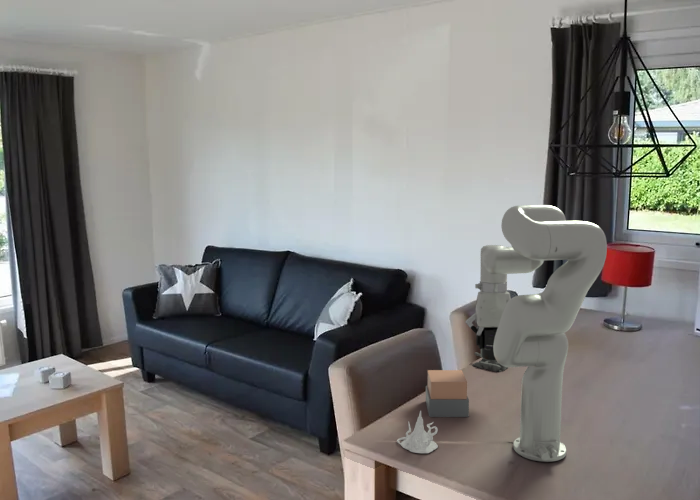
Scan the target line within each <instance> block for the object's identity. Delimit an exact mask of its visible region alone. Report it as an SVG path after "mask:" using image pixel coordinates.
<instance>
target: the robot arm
mask: <svg viewBox="0 0 700 500" xmlns="http://www.w3.org/2000/svg"><path fill="white" fill-rule="evenodd" d="M501 231H502V235H503V237H504V239H505V240H506V241H507V242H508V243H509V244H510V245H511V246H504V245H500V244H489V245H488V244H487V245H484V246H482V247H481V248H480V278H479V279H480V281H479V283H476V284H475V286H474V287H475V289H478V290H479V291H478V292H477V296H476V303H475V312H474V313H473V314H472V315H471V316H470V317H468V318H467V319H466V320H465V324H466V325H467V326H468V327H469V328H470V329H471V330H472V332H474V333H475V335H476V338H475V339H476V340H475V341H476V342H475V343H476V346H478V348H479V350H481V349H482V348H483V336H482V335H481V333H482V331H483V329H484V327H485V328H495V327H498V329H497V332H496V335H495V339H494V345H493V351H494V356H495V358H496V360H497V362H498V363H499V364H501V365H502V366H505V367H508V368H524V367H526V370H525V371H524V373H523V375H522V379H521V382H520V383H521V386H520V391H521V392H520V415H519V416H520V421H519V422H520V424H519V425H520V428H519V437H517V438H516V439H514V440H513V443H512V444H513V445H512V446H513V450H514V451H515V453H516V454H518V455H519V456H522V457H523V458H525V459H528V460H531V461H535V462H536V461H537V462H546V463H549V462H557V461H560V460H562V459H564V458H566V456H567V447H566V446H565V444H564V443H563V442H561V431H562V430H561V425H562V402H563V401H562V399H563V398H562V397H563V395H562V394H563V381H564V380H563V378H564V370H565V365H566V360H567V355H568V351H569V340H568V337H567V334H566V333H567V332H568V331H569V330H570V329H571V328H572V326H573V324H574V323H575V320H576V318H577V316H578V314H579V311H580V309H581V307H582V305H583V303H584V301H585V298H586V296H587V295H588V291H589V290H590V288H591V287H592V286H593V284H594V283H595V281H596V280H597V279H598V277H599V276H600V274H601V272H602V270H603V268H604V266H605V263H606V262H605V261H606V259H607V253H608V252H607V250H608V244H607V237H606V234H605V232H604V230H603V229H602V228H601V227H600V226H599V225H597V224H595V223H594V222H590V221H585V220H584V221H583V220H567V219H566V216H565V214H564V212H563V211H562V210H561V209H560V208H558V207H556V206H553V205H550V204H530V205H529V204H528V205H527V204H526V205H524V204H523V205H522V204H521V205H513V206H511V207H509V208H508V209H507V210H506V211H505V212H504V214H503V216H502V219H501ZM561 260H562V261H564V260H567V261H565V262H564V263H563V264H562V265H560V266H559V267H558V268H556V270H555V271H554V272H553V273H552V274H551V275H550V276H549V278H548V280H547V284H546V286H545V288H544V289H543V291H542V292H539V293H533V294H531V293H530V294H520V295H516V296H514V297H512V298H511V293H510V292H509V291H508V275H510V274H511V275H513V274H528V273H532V272H534V271H535V270H537V269H539V268H540V267H541V266H542V265H543V264H544V262H545V261H561ZM474 321H475V323H476V324H477V327H476V326H475V325H474V324H473V322H474Z"/></svg>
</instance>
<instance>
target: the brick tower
mask: <svg viewBox="0 0 700 500" xmlns="http://www.w3.org/2000/svg"><path fill="white" fill-rule="evenodd" d="M425 404H426V408H427V409H426V410H427V413H428V417H429V418H470V416H469V415H470V411H469V410H470V408H469V407H470V399H469V397H468V381H467V379H466V376H465V375H464V372H463V370H461V369H454V370H453V369H443V370H442V369H433V370H432V369H427V385H426V386H425Z"/></svg>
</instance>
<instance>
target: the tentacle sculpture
mask: <svg viewBox="0 0 700 500" xmlns="http://www.w3.org/2000/svg"><path fill="white" fill-rule="evenodd" d="M407 422H408V423H407V424H408V430H407V431H406V432H405V436H402V437H399V438H398V439H397V440H396V443H397V444H399V445H400V446H401V447H402V448H403V449H405V450H408V451H409V452H411V453H416V454H429V453H432V452H433V451H434V450H436V449H438V448H439V445H438V444H437V443H436V441H434V436H435V435H436V434H438V431H439V429H438V427H437V426H436V425H435V426H434V425H433V424H434V423H435V422H434V421H432V422H430V423H427V424H426V427H427V428H428V429H427V431H426V430H425V428H424V426H425V425H424V419H423V417H422V410H420V411H419V415H418V416H417V420H416V422H415V425H414V429H413V431H412V428H411V427H412V426H411V424H410V421H407ZM431 425H433V426H432V427H431ZM432 429H434V432H432V431H431V430H432ZM400 441H401V442H400Z"/></svg>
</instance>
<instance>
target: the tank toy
mask: <svg viewBox="0 0 700 500" xmlns="http://www.w3.org/2000/svg"><path fill="white" fill-rule="evenodd" d="M473 355H475V356H477V357H480V358H481V359H480V360H479V361H477V362H474V363H473V364H472V365H471V366H473V367H475V368H479V369H481V370H482V369H483V370H488V371H492V372H499V373H502V372H504V371H506V370H508V369H509V367H505V366H502V365H501V364H499V363H498V362H497V361H490V360H485V359H483V358H482V357H481V353H479V352H474V354H473Z"/></svg>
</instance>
